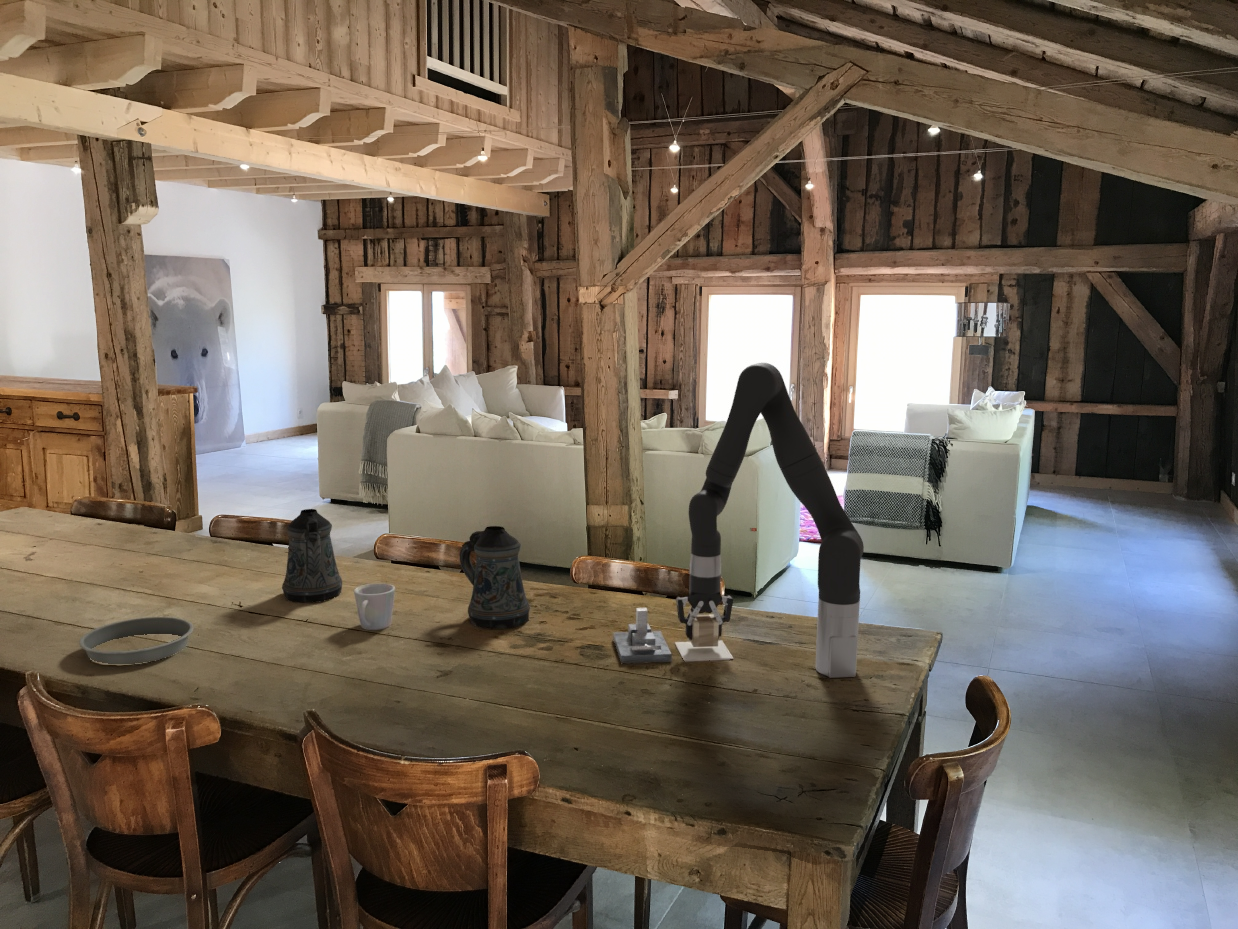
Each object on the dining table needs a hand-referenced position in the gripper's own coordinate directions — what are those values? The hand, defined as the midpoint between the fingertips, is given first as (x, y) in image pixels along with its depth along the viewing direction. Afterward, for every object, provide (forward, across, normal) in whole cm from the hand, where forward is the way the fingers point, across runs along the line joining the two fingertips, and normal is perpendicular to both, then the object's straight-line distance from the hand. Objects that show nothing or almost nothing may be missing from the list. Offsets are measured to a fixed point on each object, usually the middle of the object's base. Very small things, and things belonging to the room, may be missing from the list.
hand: (703, 638), depth 228 cm
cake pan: (+4, -136, +15) cm, 137 cm away
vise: (+3, -15, +2) cm, 15 cm away
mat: (+3, 0, 0) cm, 3 cm away
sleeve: (+1, 0, 0) cm, 1 cm away
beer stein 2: (+4, -51, +29) cm, 59 cm away
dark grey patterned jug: (+4, -102, +55) cm, 116 cm away
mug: (+4, -82, +25) cm, 86 cm away
